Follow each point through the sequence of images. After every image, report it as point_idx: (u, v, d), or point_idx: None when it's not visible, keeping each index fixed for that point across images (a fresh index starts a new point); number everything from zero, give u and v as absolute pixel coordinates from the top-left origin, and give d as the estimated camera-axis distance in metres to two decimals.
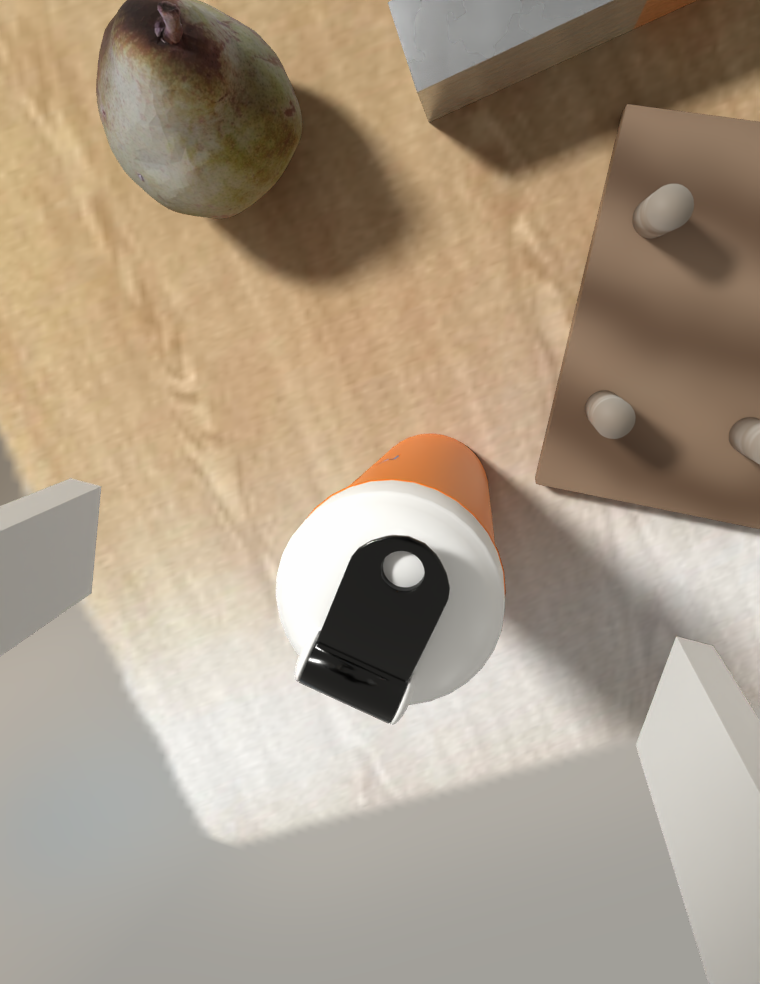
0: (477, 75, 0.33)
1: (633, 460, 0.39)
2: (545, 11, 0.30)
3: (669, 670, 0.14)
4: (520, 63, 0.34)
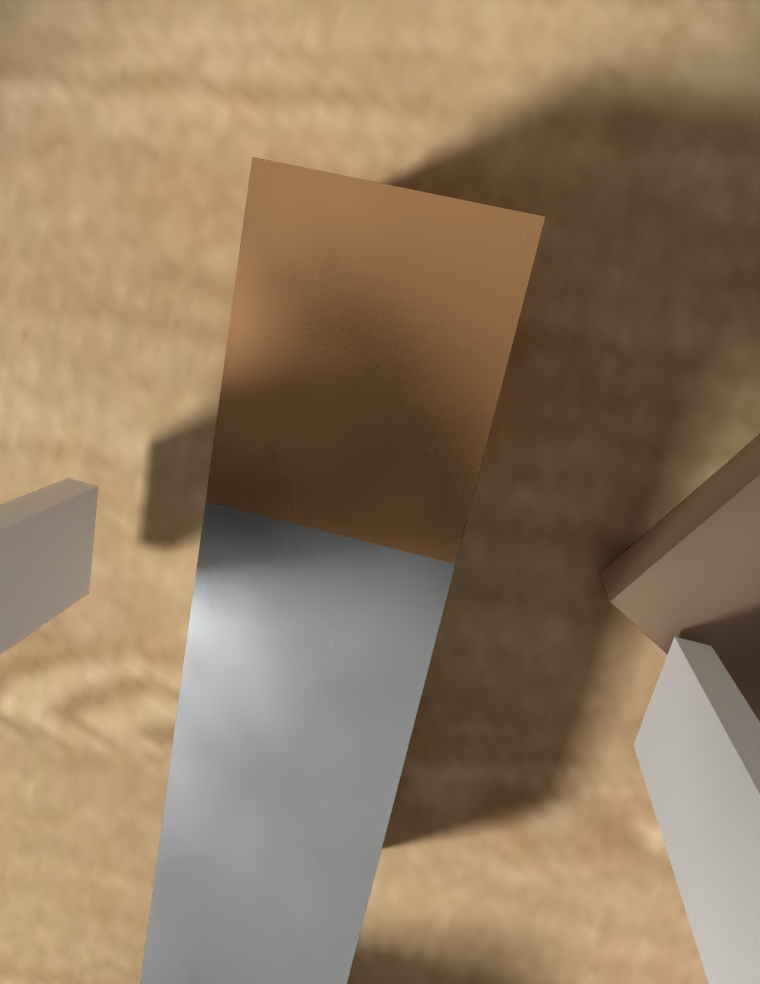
0: None
1: None
2: (349, 795, 0.12)
3: (667, 670, 0.14)
4: None
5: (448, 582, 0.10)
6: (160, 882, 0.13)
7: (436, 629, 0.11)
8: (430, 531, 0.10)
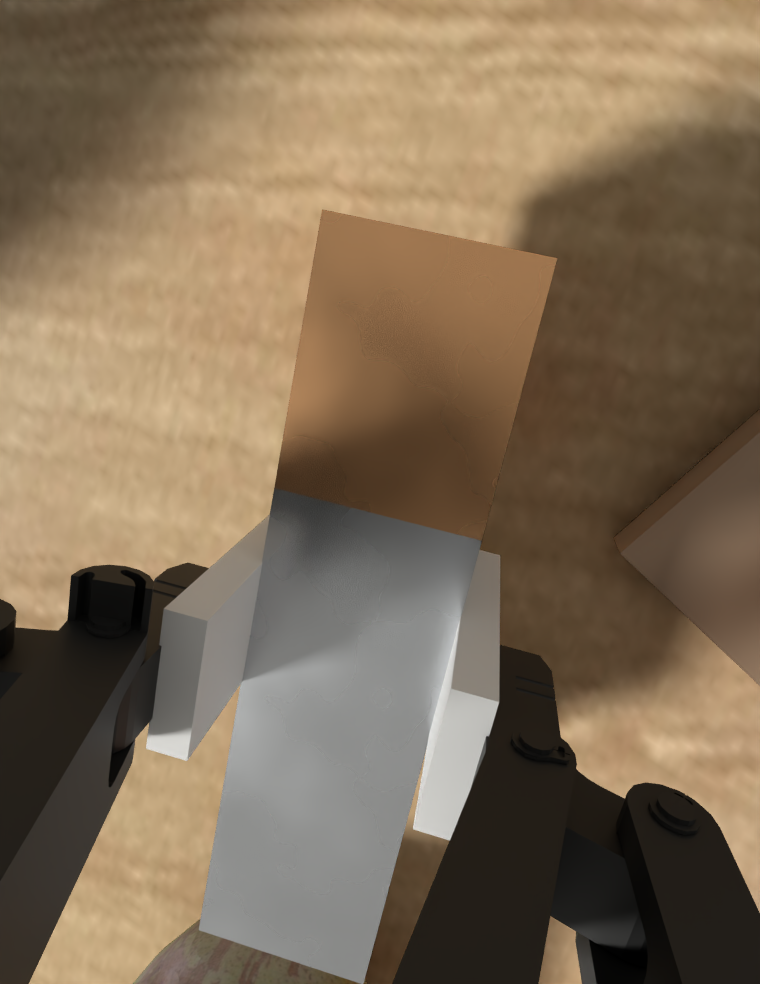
0: None
1: None
2: (389, 740, 0.14)
3: None
4: None
5: (475, 556, 0.13)
6: (223, 820, 0.15)
7: (465, 596, 0.13)
8: (461, 513, 0.12)
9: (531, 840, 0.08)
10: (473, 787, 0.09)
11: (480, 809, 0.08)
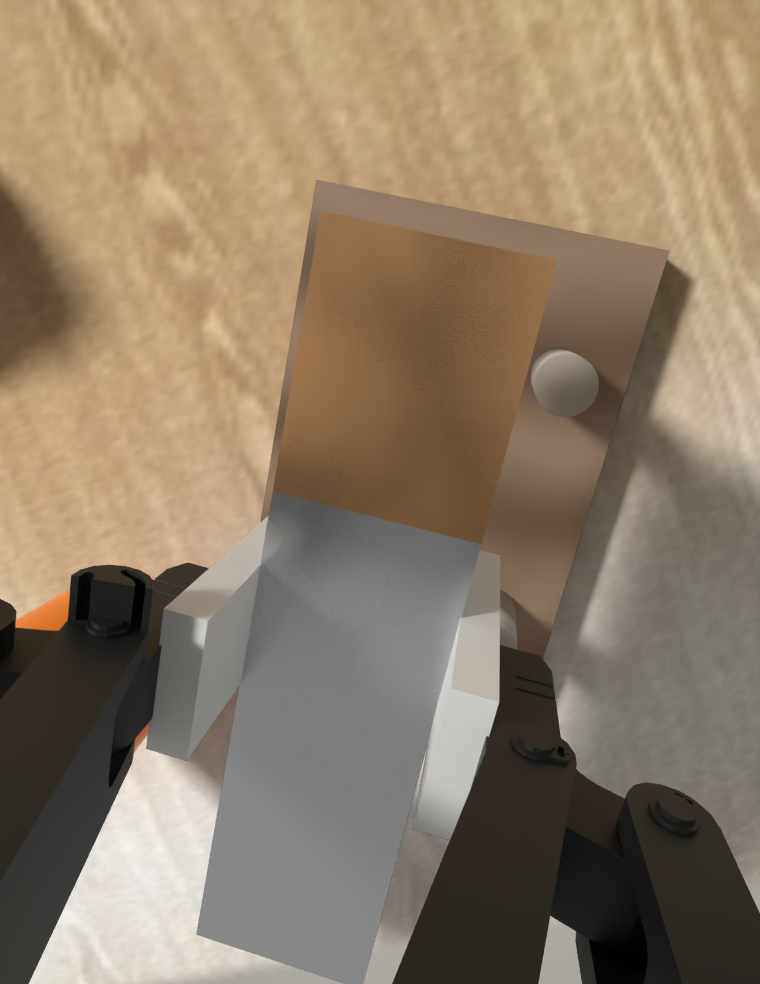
0: None
1: None
2: (387, 745, 0.14)
3: None
4: None
5: (475, 559, 0.13)
6: (220, 824, 0.15)
7: (464, 599, 0.13)
8: (460, 516, 0.12)
9: (531, 840, 0.08)
10: (473, 786, 0.09)
11: (480, 808, 0.08)
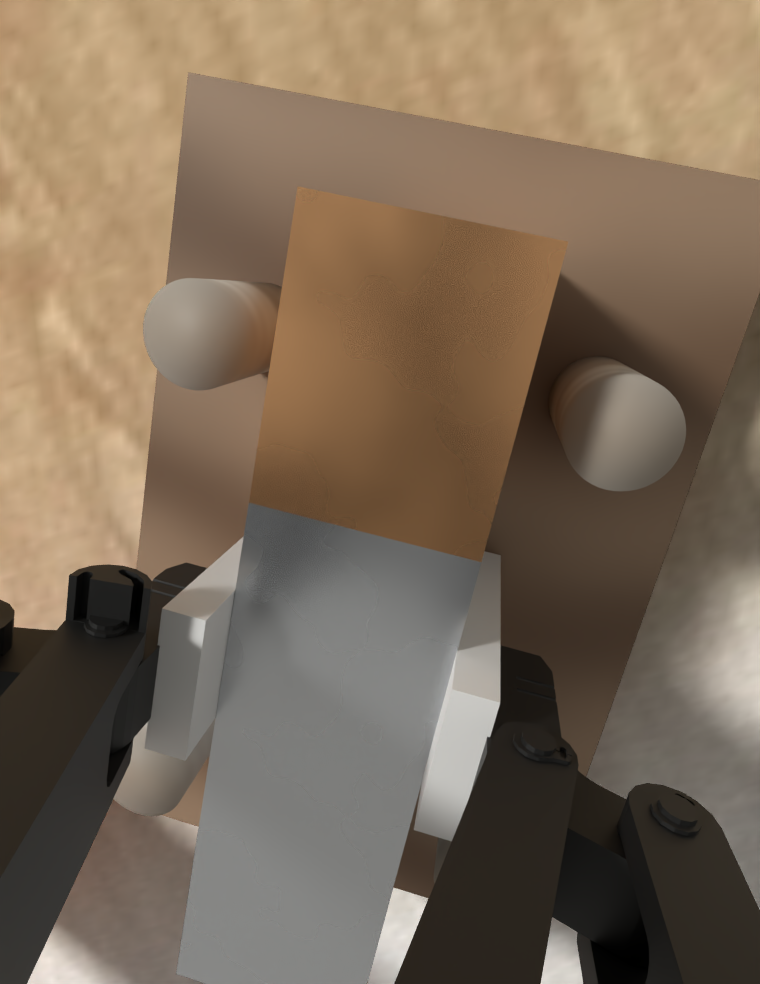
0: None
1: None
2: (379, 779, 0.13)
3: None
4: None
5: (474, 579, 0.11)
6: (199, 860, 0.14)
7: (462, 623, 0.11)
8: (458, 531, 0.11)
9: (533, 841, 0.08)
10: (475, 787, 0.09)
11: (482, 810, 0.08)
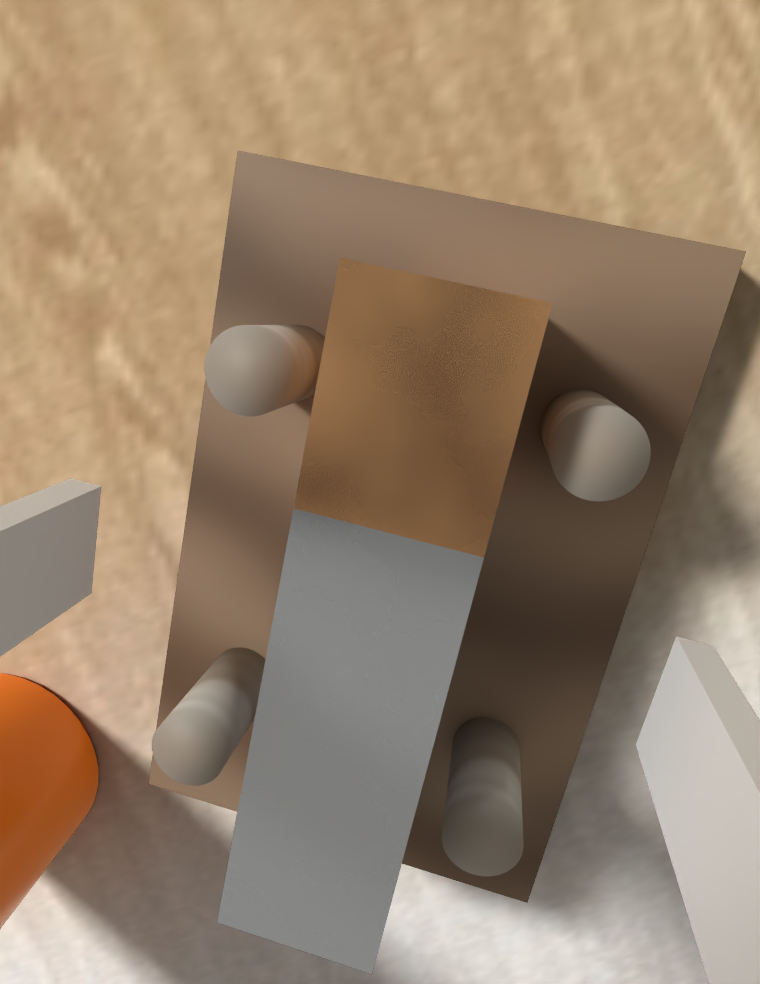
0: None
1: None
2: (397, 742, 0.15)
3: (669, 670, 0.14)
4: None
5: (478, 571, 0.14)
6: (241, 817, 0.16)
7: (468, 608, 0.14)
8: (465, 532, 0.14)
9: None
10: None
11: None
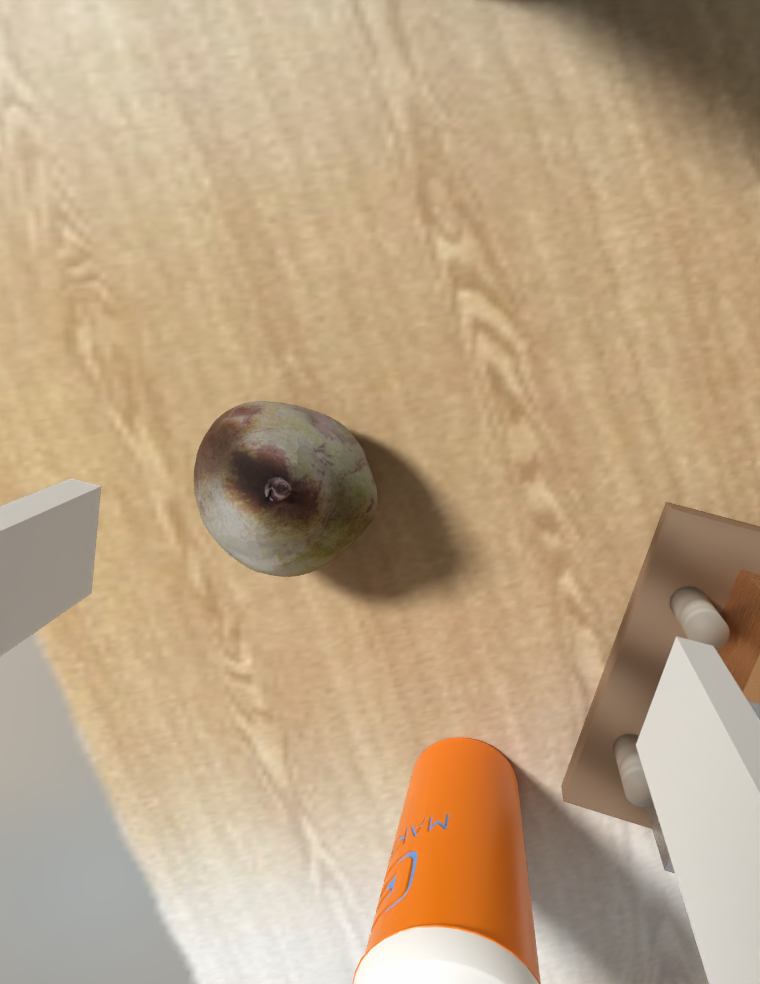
0: None
1: None
2: None
3: (669, 670, 0.14)
4: None
5: None
6: None
7: None
8: None
9: None
10: None
11: None
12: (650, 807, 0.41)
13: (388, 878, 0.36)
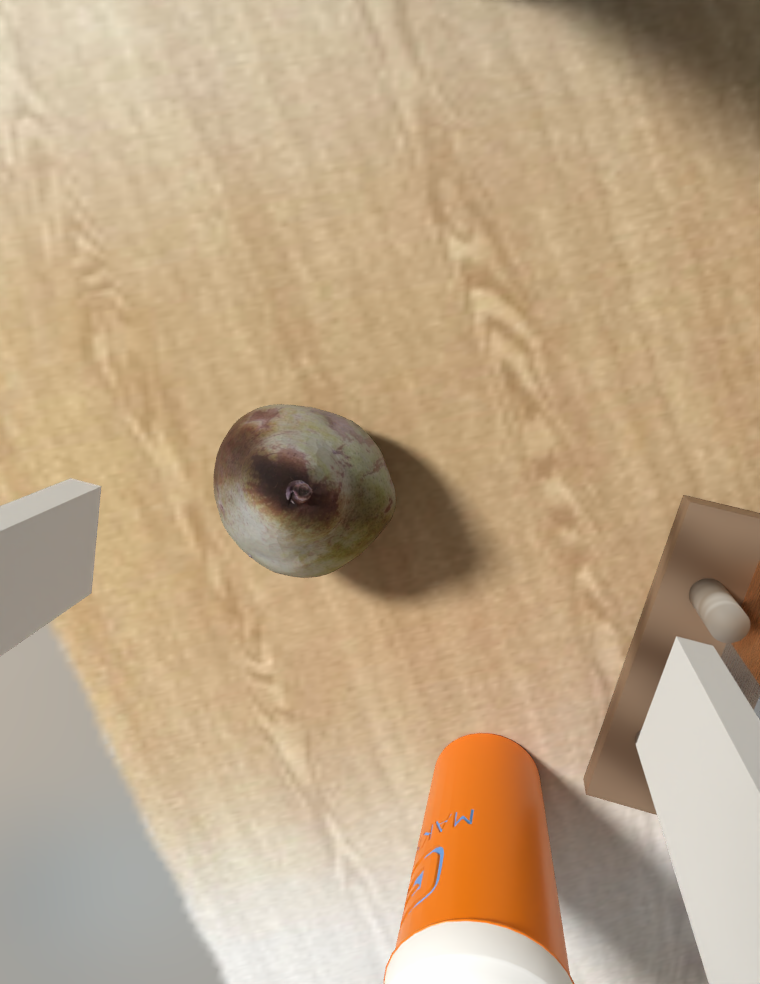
0: None
1: None
2: None
3: (669, 670, 0.14)
4: None
5: None
6: None
7: None
8: None
9: None
10: None
11: None
12: None
13: (415, 874, 0.36)
